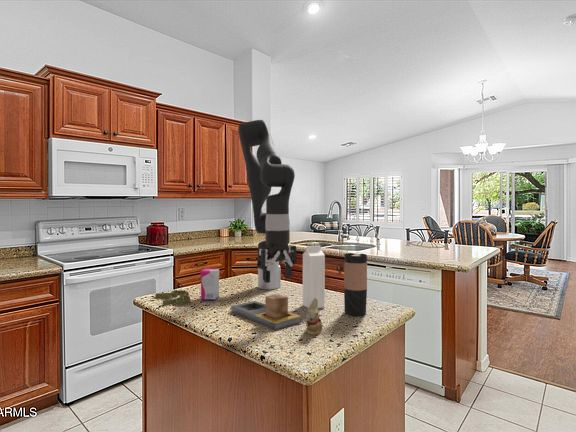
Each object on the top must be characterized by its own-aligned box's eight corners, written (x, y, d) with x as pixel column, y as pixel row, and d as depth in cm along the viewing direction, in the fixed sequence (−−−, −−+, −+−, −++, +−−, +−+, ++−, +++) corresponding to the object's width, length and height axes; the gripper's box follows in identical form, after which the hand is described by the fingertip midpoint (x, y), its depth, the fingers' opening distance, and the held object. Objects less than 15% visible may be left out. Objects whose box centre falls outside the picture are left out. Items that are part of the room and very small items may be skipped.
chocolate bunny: (298, 332, 101) (298, 298, 101) (314, 325, 107) (314, 293, 107) (313, 337, 98) (313, 301, 97) (329, 330, 103) (329, 296, 103)
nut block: (277, 318, 114) (277, 293, 114) (287, 322, 110) (287, 296, 110) (265, 321, 111) (265, 296, 111) (275, 325, 107) (275, 299, 107)
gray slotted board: (254, 306, 128) (254, 300, 128) (300, 322, 110) (300, 315, 110) (231, 311, 121) (231, 305, 121) (275, 330, 103) (275, 322, 103)
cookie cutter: (153, 297, 141) (153, 292, 141) (183, 293, 148) (183, 288, 148) (164, 308, 126) (164, 302, 126) (197, 303, 132) (197, 298, 132)
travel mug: (353, 317, 115) (353, 256, 114) (339, 311, 121) (339, 253, 121) (371, 314, 118) (372, 255, 118) (357, 308, 125) (357, 252, 124)
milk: (324, 307, 126) (325, 246, 126) (309, 309, 124) (310, 247, 123) (316, 303, 132) (317, 244, 131) (302, 305, 129) (302, 245, 129)
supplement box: (219, 297, 141) (219, 268, 140) (215, 300, 135) (215, 271, 135) (205, 296, 141) (205, 268, 141) (200, 300, 135) (200, 270, 135)
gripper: (286, 226, 117) (286, 275, 118) (251, 229, 108) (252, 281, 108) (302, 228, 112) (302, 278, 112) (267, 230, 102) (267, 286, 103)
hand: (277, 280), depth 110 cm, fingers open, 8 cm apart
